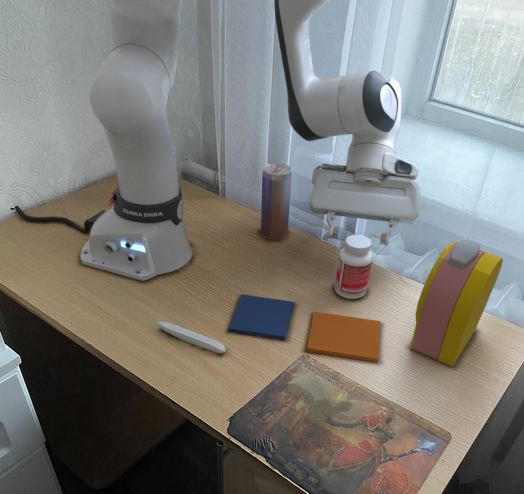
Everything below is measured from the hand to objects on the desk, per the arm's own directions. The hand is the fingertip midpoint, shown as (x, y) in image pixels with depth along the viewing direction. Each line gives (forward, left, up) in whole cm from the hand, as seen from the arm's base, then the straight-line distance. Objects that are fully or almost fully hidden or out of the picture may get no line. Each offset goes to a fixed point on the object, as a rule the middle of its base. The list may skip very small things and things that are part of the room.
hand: (358, 240), depth 100 cm
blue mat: (-15, -15, -9) cm, 23 cm away
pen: (-26, -24, -9) cm, 37 cm away
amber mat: (0, -17, -9) cm, 20 cm away
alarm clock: (+17, -14, -9) cm, 24 cm away
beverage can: (-18, +14, -9) cm, 24 cm away
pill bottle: (0, -3, -9) cm, 10 cm away
